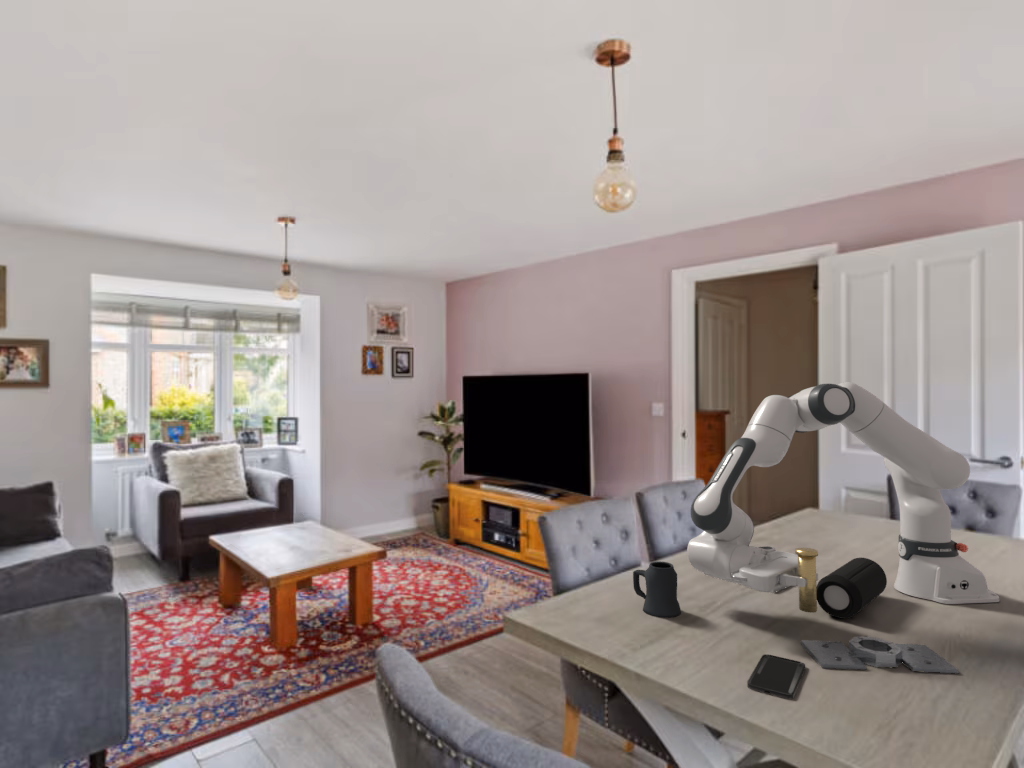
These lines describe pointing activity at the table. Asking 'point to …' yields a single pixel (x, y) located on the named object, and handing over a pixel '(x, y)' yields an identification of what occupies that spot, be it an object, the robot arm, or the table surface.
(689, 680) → the table surface
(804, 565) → the pin
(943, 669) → the hinge body
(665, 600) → the mug
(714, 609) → the table surface
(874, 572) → the portable speaker
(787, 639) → the table surface
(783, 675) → the phone
